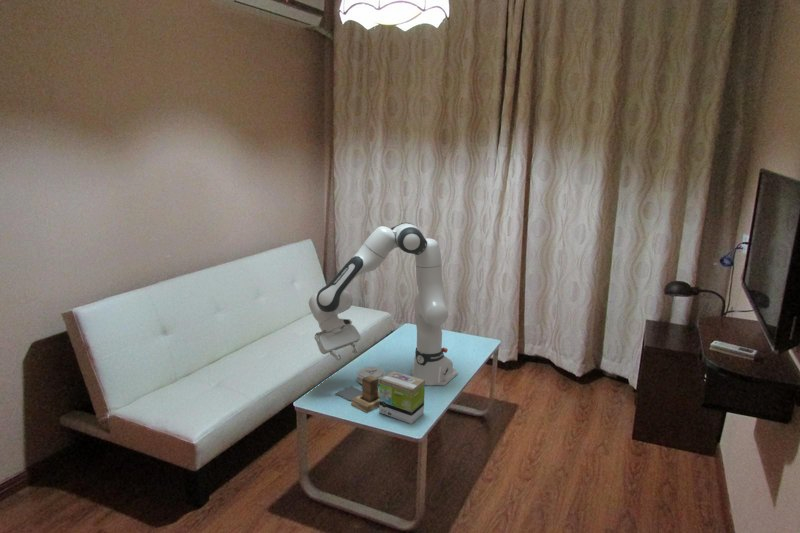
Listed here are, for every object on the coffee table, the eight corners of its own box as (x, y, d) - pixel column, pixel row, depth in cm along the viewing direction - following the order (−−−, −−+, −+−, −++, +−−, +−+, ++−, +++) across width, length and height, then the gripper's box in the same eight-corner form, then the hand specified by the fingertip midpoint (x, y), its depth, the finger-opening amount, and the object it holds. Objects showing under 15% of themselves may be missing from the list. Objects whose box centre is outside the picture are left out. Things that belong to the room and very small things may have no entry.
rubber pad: (351, 387, 224) (351, 385, 224) (365, 394, 218) (365, 392, 218) (335, 394, 218) (335, 392, 217) (350, 401, 212) (350, 400, 212)
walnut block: (370, 399, 213) (370, 375, 211) (377, 403, 211) (377, 378, 208) (362, 403, 210) (362, 378, 208) (369, 407, 207) (370, 382, 205)
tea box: (378, 413, 203) (378, 378, 199) (392, 403, 211) (392, 369, 208) (411, 425, 195) (412, 388, 192) (424, 413, 204) (425, 378, 200)
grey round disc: (389, 377, 234) (390, 367, 233) (378, 389, 223) (378, 379, 222) (364, 372, 239) (364, 362, 238) (351, 384, 227) (351, 373, 226)
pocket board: (372, 394, 218) (372, 389, 217) (388, 402, 212) (388, 396, 211) (351, 404, 209) (351, 399, 208) (367, 412, 203) (367, 407, 203)
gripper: (316, 330, 209) (332, 360, 205) (353, 318, 224) (369, 346, 220) (309, 337, 213) (324, 367, 209) (346, 325, 228) (361, 353, 224)
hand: (347, 356), depth 215 cm, fingers open, 8 cm apart
